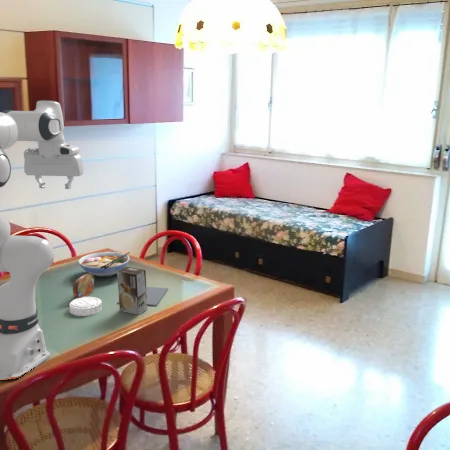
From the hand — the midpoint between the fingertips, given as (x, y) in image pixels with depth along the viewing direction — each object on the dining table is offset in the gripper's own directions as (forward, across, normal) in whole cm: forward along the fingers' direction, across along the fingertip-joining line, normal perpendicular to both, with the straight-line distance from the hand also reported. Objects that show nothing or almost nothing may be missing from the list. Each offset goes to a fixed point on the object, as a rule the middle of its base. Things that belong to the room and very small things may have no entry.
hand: (55, 188), depth 181 cm
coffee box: (+48, +24, +8) cm, 54 cm away
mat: (+48, +24, +22) cm, 58 cm away
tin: (+48, 0, +19) cm, 52 cm away
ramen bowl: (+48, -1, +45) cm, 66 cm away
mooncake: (+48, +6, +6) cm, 49 cm away
